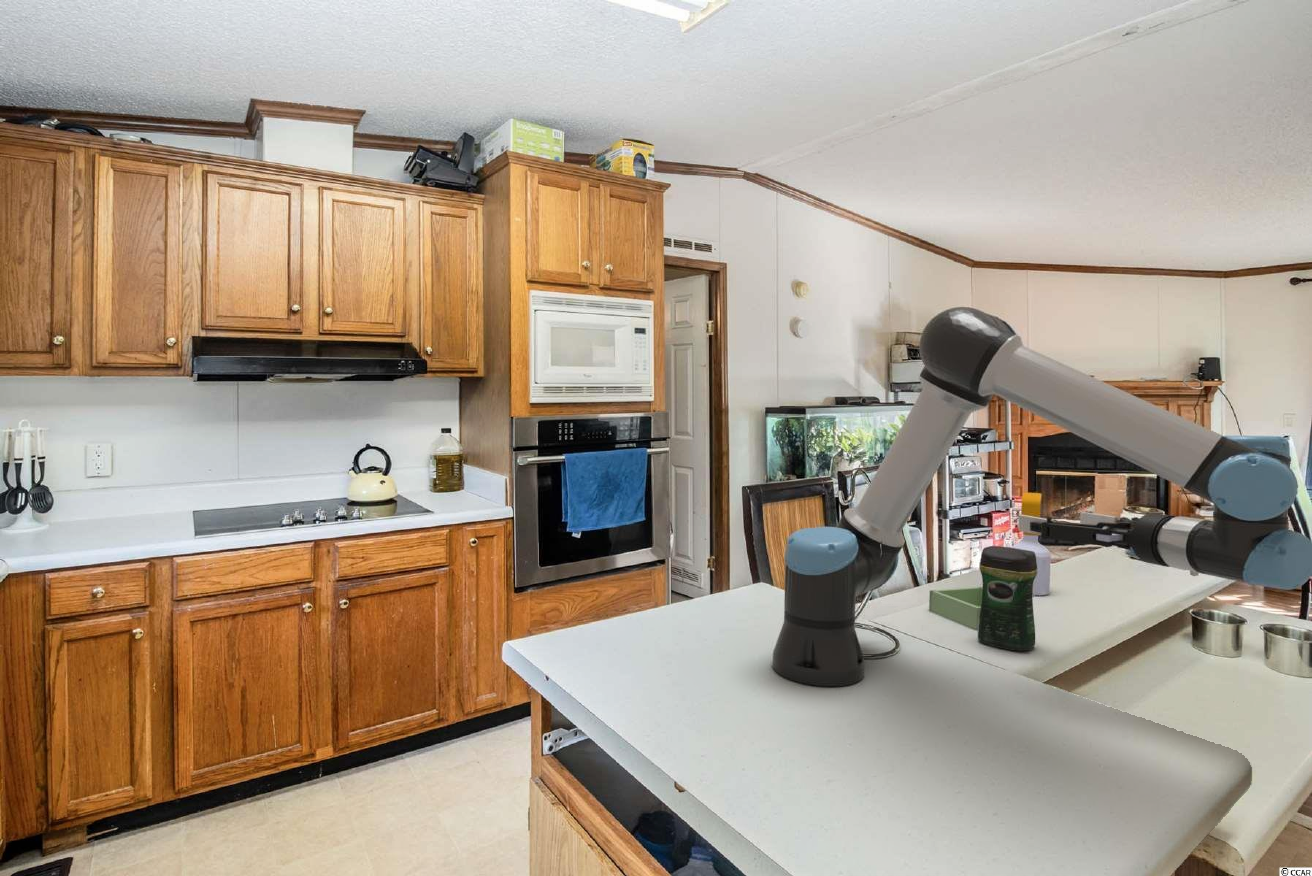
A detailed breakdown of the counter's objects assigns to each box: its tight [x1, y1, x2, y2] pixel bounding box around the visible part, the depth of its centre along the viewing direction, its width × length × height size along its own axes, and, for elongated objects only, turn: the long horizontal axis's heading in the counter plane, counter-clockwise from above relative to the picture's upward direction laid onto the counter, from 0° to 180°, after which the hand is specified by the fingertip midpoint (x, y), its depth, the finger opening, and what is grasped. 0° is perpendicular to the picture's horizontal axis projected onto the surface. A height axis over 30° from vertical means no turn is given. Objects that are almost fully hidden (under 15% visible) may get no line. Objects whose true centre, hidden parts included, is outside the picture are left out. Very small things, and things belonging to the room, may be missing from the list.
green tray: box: [928, 586, 983, 631], centre depth 148 cm, size 14×14×4 cm
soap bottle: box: [1010, 492, 1052, 597], centre depth 171 cm, size 9×9×25 cm
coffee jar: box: [977, 545, 1038, 652], centre depth 131 cm, size 10×8×19 cm
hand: (1051, 521), depth 120 cm, fingers open, 13 cm apart
